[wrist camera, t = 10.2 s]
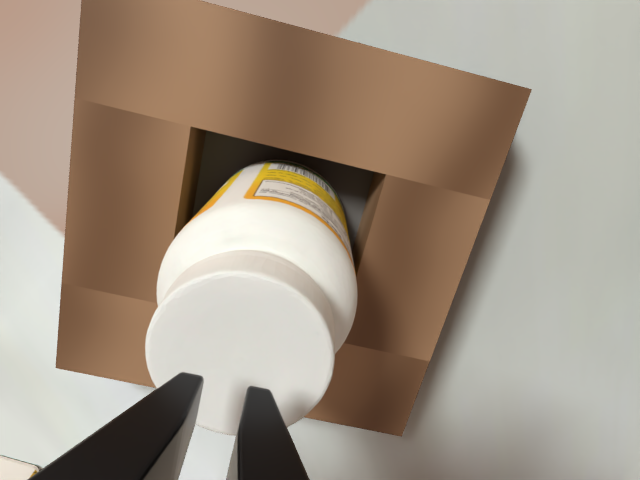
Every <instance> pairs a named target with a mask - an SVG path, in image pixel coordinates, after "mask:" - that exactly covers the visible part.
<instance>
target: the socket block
mask: <svg viewBox="0 0 640 480" xmlns="http://www.w3.org/2000/svg"><path fill="white" fill-rule="evenodd" d="M531 90H532V89H528V88H524V87H521V86H517V85H513V84H510V83H506V82H502V81H498V80H495V79H491V78H487V77H484V76H480V75H476V74H472V73H469V72H465V71H461V70H457V69H454V68H450V67H446V66H443V65H439V64H435V63H431V62H428V61H424V60H420V59H417V58H413V57H409V56H405V55H402V54H398V53H394V52H390V51H387V50H383V49H379V48H376V47H372V46H368V45H364V44H361V43H357V42H353V41H350V40H346V39H342V38H338V37H335V36H331V35H327V34H323V33H320V32H316V31H312V30H309V29H305V28H301V27H297V26H294V25H290V24H286V23H282V22H278V21H275V20H271V19H268V18H264V17H260V16H256V15H252V14H249V13H245V12H241V11H238V10H234V9H230V8H227V7H223V6H219V5H216V4H211V3H208V2H204V1H200V0H82V2H81V17H80V30H79V44H78V58H77V72H76V87H75V101H74V115H73V130H72V144H71V159H70V172H69V187H68V201H67V214H66V229H65V243H64V257H63V271H62V285H61V300H60V314H59V328H58V342H57V356H56V368H58V369H63V370H69V371H74V372H79V373H84V374H89V375H94V376H99V377H104V378H109V379H114V380H119V381H124V382H129V383H134V384H139V385H144V386H149V387H154V388H156V386H155V385H154V383H153V381H152V379H151V376H150V373H149V371H148V368H147V362H146V356H145V342H146V334H147V330H148V327H149V325H150V322H151V319H152V317H153V315H154V313H155V311H156V309H157V308H158V304H157V280H158V274H159V270H160V267H161V263H162V261H163V258H164V256H165V254H166V252H167V250H168V248H169V246H170V245H171V243H172V241H173V240H174V239H175V237H176V236H177V235H178V233H179V232H180V231H181V230H182V229H183V227H184V226H185V225H186V224H187V223H188V222H189V221H190V220H191V219H192V218H193V217H194V216H195V215H196V214H197V213H198V212H199V211H200V210H201V209H202V208H203V207H204V205H205V204H206V203H207V202H208V201H209V200H210V199H211V198H212V197H213V196H214V195H215V194H216V192H217V191H218V190H219V189H220V188H221V187H222V186H223V185H224V184H225V183H226V182H227V181H228V180H229V179H230V178H231V177H232V176H233V175H234V174H236V173H237V172H238V171H240V170H242V169H243V168H245V167H247V166H249V165H251V164H254V163H257V162H261V161H266V160H287V161H293V162H296V163H299V164H302V165H305V166H307V167H309V168H310V169H312V170H314V171H315V172H317V173H318V174H320V175H321V176H322V177H323V178H324V179H325V180H326V181H327V182H328V183H329V184H330V185H331V186H332V188H333V189H334V190H335V192H336V194H337V195H338V197H339V199H340V201H341V203H342V206H343V210H344V214H345V218H346V224H347V230H348V235H349V240H350V246H351V252H352V257H353V263H354V268H355V273H356V280H357V308H356V314H355V318H354V321H353V325H352V327H351V330H350V332H349V334H348V336H347V338H346V340H345V342H344V343H343V345H342V346H341V348H340V349H339V350H338V351H337V353H336V354H335V363H334V369H333V375H332V378H331V381H330V383H329V386H328V388H327V390H326V392H325V394H324V396H323V397H322V399H321V400H320V401H319V402H318V404H317V405H316V406H315V407H314V408H313V409H312V410H311V411H310V412H309V413H308V414H307V415H305V416H304V417H306V418H311V419H316V420H321V421H326V422H331V423H336V424H341V425H346V426H352V427H357V428H362V429H367V430H372V431H377V432H382V433H387V434H392V435H397V436H402V434H403V431H404V429H405V426H406V423H407V421H408V418H409V415H410V413H411V410H412V407H413V405H414V402H415V399H416V397H417V394H418V391H419V389H420V386H421V383H422V381H423V378H424V375H425V373H426V370H427V367H428V365H429V362H430V359H431V357H432V354H433V351H434V349H435V346H436V343H437V341H438V338H439V335H440V333H441V330H442V327H443V325H444V322H445V319H446V317H447V314H448V311H449V309H450V306H451V303H452V301H453V298H454V295H455V293H456V290H457V287H458V285H459V282H460V279H461V277H462V274H463V271H464V269H465V266H466V263H467V261H468V258H469V255H470V253H471V250H472V247H473V245H474V242H475V239H476V237H477V234H478V231H479V229H480V226H481V223H482V221H483V218H484V215H485V213H486V210H487V207H488V205H489V202H490V199H491V197H492V194H493V191H494V189H495V186H496V183H497V181H498V178H499V175H500V173H501V170H502V167H503V165H504V162H505V159H506V157H507V154H508V151H509V149H510V146H511V143H512V141H513V138H514V135H515V133H516V130H517V127H518V125H519V122H520V119H521V117H522V114H523V111H524V109H525V106H526V103H527V101H528V98H529V95H530V93H531Z"/></svg>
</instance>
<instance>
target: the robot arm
mask: <svg viewBox="0 0 640 480" xmlns="http://www.w3.org/2000/svg"><path fill="white" fill-rule="evenodd" d="M203 383H204V378H203V377H202V376H201V375H196V374H191V373H186V372H181V373H179V374H177V375H176V376H174V377H173V378H172V379H170V380H169V381H167V382H166V383H164V384H163V385H162V386H160V387H159V388H157V389H156V390H154V391H153V392H152V393H150V394H149V395H147V396H146V397H144V398H143V399H142V400H140V401H139V402H137V403H136V404H134V405H133V406H132V407H130V408H129V409H127V410H126V411H124V412H123V413H122V414H120V415H119V416H117V417H116V418H114V419H113V420H112V421H110V422H109V423H107V424H106V425H104V426H103V427H102V428H100V429H99V430H97V431H96V432H94V433H93V434H92V435H90V436H89V437H87V438H86V439H84V440H83V441H82V442H80V443H79V444H77V445H76V446H74V447H73V448H72V449H70V450H69V451H67V452H66V453H65V454H63V455H62V456H60V457H59V458H57V459H56V460H55V461H53V462H52V463H50V464H49V465H47V466H46V467H45V468H43V469H42V470H40V471H39V472H37V473H36V474H35V475H33V476H32V477H30V478H29V479H27V480H178V478H179V475H180V472H181V468H182V465H183V462H184V459H185V455H186V452H187V449H188V446H189V442H190V439H191V436H192V433H193V430H194V426H195V423H196V419H197V414H198V409H199V404H200V399H201V394H202V389H203ZM226 480H309V478H308V475H307V473H306V471H305V468H304V466H303V464H302V461H301V459H300V457H299V455H298V452H297V450H296V448H295V445H294V443H293V441H292V438H291V436H290V434H289V431H288V429H287V427H286V424H285V422H284V420H283V418H282V415H281V413H280V411H279V408H278V406H277V404H276V401H275V399H274V397H273V394H272V392H271V391H270V390H269V389H266V388H261V387H256V386H249V387H248V388H247V391H246V395H245V399H244V404H243V408H242V412H241V417H240V421H239V425H238V430H237V434H236V438H235V443H234V447H233V451H232V456H231V460H230V464H229V469H228V473H227V478H226Z"/></svg>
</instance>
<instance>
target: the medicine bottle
mask: <svg viewBox="0 0 640 480" xmlns="http://www.w3.org/2000/svg"><path fill="white" fill-rule="evenodd" d="M37 472H39V469H38V467H37V466H35V465H32V464H28V463H25V462H21V461H18V460H14V459H11V458H7V457H4V456H0V480H27V479H29V478H30V477H32V476H33V475H35V474H36V473H37Z"/></svg>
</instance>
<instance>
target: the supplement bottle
mask: <svg viewBox="0 0 640 480" xmlns="http://www.w3.org/2000/svg"><path fill="white" fill-rule="evenodd" d="M157 304H158V308H157V309H156V311H155V313H154V315H153V317H152V319H151V322H150V325H149V327H148V330H147V334H146V342H145V356H146V362H147V368H148V371H149V373H150V376H151V379H152V381H153V383H154V385H155V386H156V388H159V387H160V386H162V385H163V384H164V383H166V382H167V381H169V380H170V379H172V378H173V377H174V376H176V375H177V374H179V373H181V372H186V373H191V374H196V375H201V376H202V377H203V378H204V383H203V389H202V394H201V399H200V404H199V409H198V414H197V419H196V423H195V424H196V425H198V426H200V427H203V428H205V429H208V430H211V431H214V432H218V433H222V434H227V435H236V434H237V430H238V425H239V421H240V417H241V412H242V408H243V404H244V399H245V395H246V391H247V388H248V387H249V386H256V387H261V388H266V389H269V390H270V391H271V392H272V394H273V397H274V399H275V401H276V404H277V406H278V408H279V411H280V413H281V415H282V418H283V420H284V422H285V424H286V427H288V426H290V425H292V424H294V423H296V422H297V421H299V420H300V419H302V418H303V417H304V416H305V415H307V414H308V413H309V412H310V411H311V410H312V409H313V408H314V407H315V406H316V405H317V404H318V402H319V401H320V400H321V399H322V397H323V396H324V394H325V392H326V390H327V388H328V386H329V383H330V381H331V378H332V375H333V369H334V363H335V354H336V353H337V351H338V350H339V349H340V348H341V346H342V345H343V343H344V342H345V340H346V338H347V336H348V334H349V332H350V330H351V327H352V325H353V321H354V318H355V314H356V308H357V280H356V273H355V268H354V263H353V257H352V252H351V246H350V240H349V235H348V230H347V224H346V218H345V214H344V210H343V206H342V203H341V201H340V199H339V197H338V195H337V194H336V192H335V190H334V189H333V188H332V186H331V185H330V184H329V183H328V182H327V181H326V180H325V179H324V178H323V177H322V176H321V175H320V174H318V173H317V172H315V171H314V170H312V169H310V168H309V167H307V166H305V165H302V164H299V163H296V162H293V161H287V160H266V161H261V162H257V163H254V164H251V165H249V166H247V167H245V168H243V169H242V170H240V171H238V172H237V173H236V174H234V175H233V176H232V177H231V178H230V179H229V180H228V181H227V182H226V183H225V184H224V185H223V186H222V187H221V188H220V189H219V190H218V191H217V192H216V194H215V195H214V196H213V197H212V198H211V199H210V200H209V201H208V202H207V203H206V204H205V205H204V207H203V208H202V209H201V210H200V211H199V212H198V213H197V214H196V215H195V216H194V217H193V218H192V219H191V220H190V221H189V222H188V223H187V224H186V225H185V226H184V227H183V229H182V230H181V231H180V232H179V233H178V235H177V236H176V237H175V239H174V240H173V241H172V243H171V245H170V246H169V248H168V250H167V252H166V254H165V256H164V258H163V261H162V263H161V267H160V270H159V274H158V280H157Z"/></svg>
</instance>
